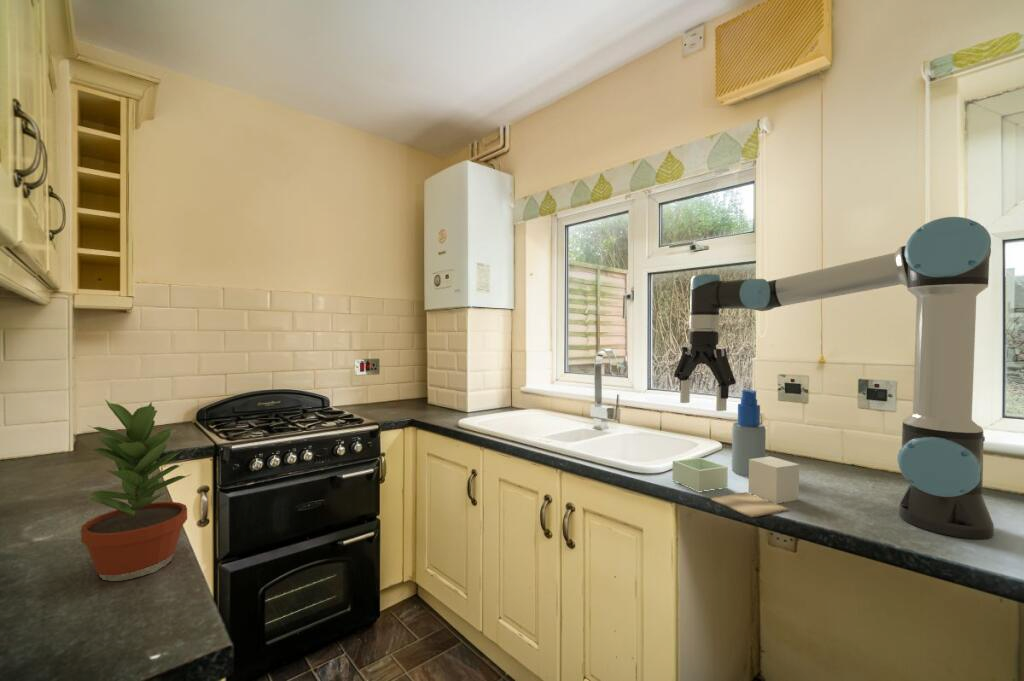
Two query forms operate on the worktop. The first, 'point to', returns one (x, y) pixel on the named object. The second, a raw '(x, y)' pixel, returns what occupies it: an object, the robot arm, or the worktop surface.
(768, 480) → the block
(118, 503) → the potted plant
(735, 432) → the spray bottle
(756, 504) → the mat
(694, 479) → the tub
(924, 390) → the robot arm
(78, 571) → the worktop surface
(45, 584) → the worktop surface
